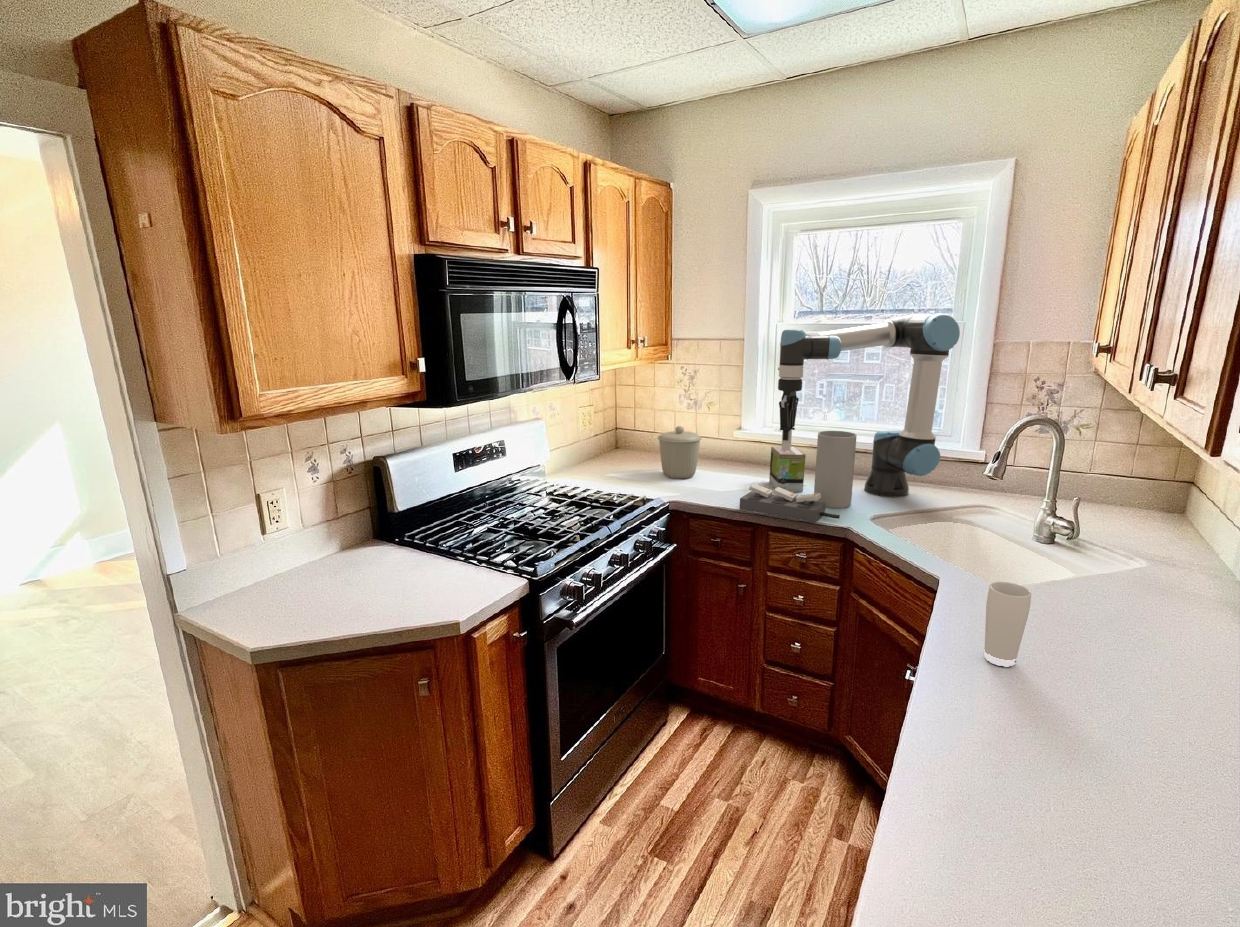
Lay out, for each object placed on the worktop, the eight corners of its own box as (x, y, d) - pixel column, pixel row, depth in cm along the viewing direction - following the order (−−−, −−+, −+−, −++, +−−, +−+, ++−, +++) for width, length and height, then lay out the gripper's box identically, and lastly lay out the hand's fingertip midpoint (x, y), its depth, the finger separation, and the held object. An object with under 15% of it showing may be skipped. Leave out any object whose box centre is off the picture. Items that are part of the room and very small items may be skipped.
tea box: (804, 492, 229) (806, 453, 226) (777, 492, 230) (779, 454, 226) (793, 481, 244) (795, 445, 240) (768, 481, 244) (770, 445, 241)
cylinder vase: (856, 508, 209) (863, 437, 203) (821, 509, 208) (826, 437, 203) (842, 498, 221) (847, 430, 215) (808, 499, 221) (812, 431, 215)
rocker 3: (821, 499, 202) (820, 492, 202) (817, 502, 199) (816, 495, 199) (801, 501, 207) (799, 494, 206) (797, 504, 203) (795, 497, 203)
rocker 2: (795, 500, 208) (797, 494, 207) (791, 503, 204) (793, 497, 203) (776, 492, 211) (778, 486, 210) (771, 495, 207) (773, 489, 206)
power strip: (843, 517, 201) (844, 501, 199) (834, 525, 192) (836, 509, 191) (750, 502, 218) (751, 487, 217) (739, 509, 210) (740, 494, 208)
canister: (689, 483, 242) (690, 431, 237) (649, 478, 251) (649, 427, 246) (707, 474, 257) (709, 424, 252) (669, 468, 266) (670, 421, 261)
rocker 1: (771, 496, 212) (773, 490, 211) (766, 499, 209) (768, 493, 208) (753, 488, 215) (754, 483, 215) (748, 491, 212) (750, 485, 211)
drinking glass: (1028, 666, 115) (1040, 593, 111) (1002, 674, 113) (1013, 599, 109) (996, 649, 121) (1006, 579, 118) (970, 655, 119) (980, 584, 116)
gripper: (785, 376, 205) (781, 444, 211) (772, 379, 195) (768, 451, 200) (808, 377, 201) (803, 447, 207) (795, 380, 191) (790, 454, 196)
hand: (786, 449), depth 203 cm, fingers closed
